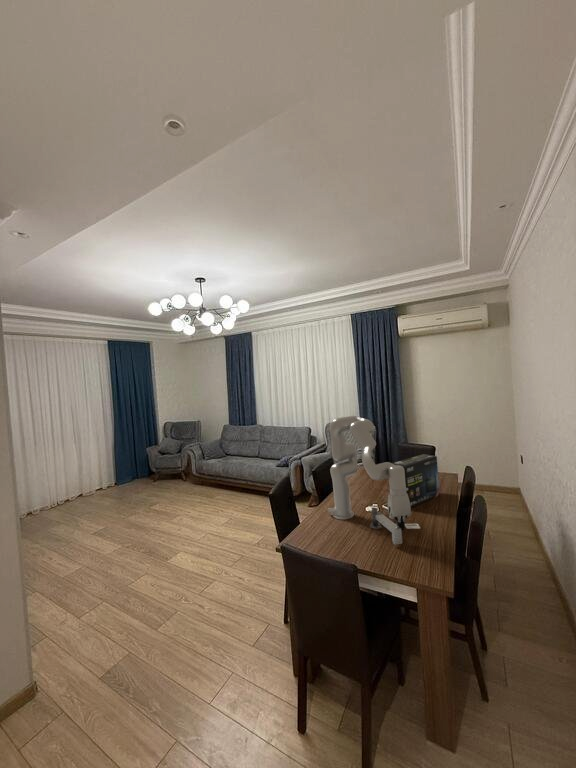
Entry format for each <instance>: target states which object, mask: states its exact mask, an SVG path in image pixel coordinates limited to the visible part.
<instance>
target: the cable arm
mask: <svg viewBox="0 0 576 768" xmlns="http://www.w3.org/2000/svg"><path fill="white" fill-rule="evenodd" d="M373 518H374V519H376V520H377V521H378V523H379V524H381V526H383V527H384V528H386V529H387V530H388V531H389V532H390V533H391V538H392V539H391V541H392V544H393V545H396V546H397V545H400V544H401V545H402V544H403V533H402V532H403V530H402V531H401V528H400V527H399V526H397V525H396V524H397V523H394V522H393V521H392V519H390V518H388V517H387V516H386V515H384V514H383V512H382V511H377V512H376V513H373Z"/></svg>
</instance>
